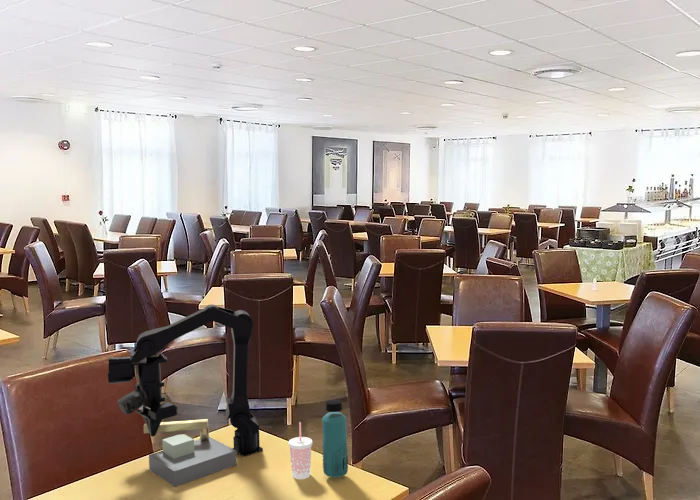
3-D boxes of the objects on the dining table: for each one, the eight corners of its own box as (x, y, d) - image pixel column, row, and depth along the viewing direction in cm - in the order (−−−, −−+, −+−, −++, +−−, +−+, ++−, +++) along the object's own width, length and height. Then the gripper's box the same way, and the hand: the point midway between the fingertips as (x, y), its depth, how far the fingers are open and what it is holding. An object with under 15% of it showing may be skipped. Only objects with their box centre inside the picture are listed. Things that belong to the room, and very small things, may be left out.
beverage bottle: (345, 484, 157) (344, 406, 155) (319, 482, 159) (318, 404, 157) (350, 473, 164) (349, 397, 162) (325, 471, 165) (324, 396, 163)
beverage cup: (318, 474, 163) (317, 421, 162) (300, 482, 159) (299, 428, 157) (301, 467, 167) (300, 416, 166) (284, 475, 163) (283, 422, 161)
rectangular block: (183, 445, 173) (182, 433, 172) (194, 452, 168) (193, 439, 168) (162, 452, 169) (162, 439, 168) (173, 458, 164) (173, 445, 164)
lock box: (209, 450, 180) (208, 436, 179) (236, 465, 169) (236, 450, 169) (149, 469, 167) (148, 454, 167) (174, 486, 157) (174, 471, 157)
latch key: (209, 437, 177) (208, 418, 177) (208, 441, 175) (208, 421, 175) (145, 442, 175) (144, 423, 174) (144, 446, 172) (143, 426, 172)
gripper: (105, 379, 171) (109, 435, 172) (136, 393, 157) (139, 454, 159) (145, 370, 178) (148, 424, 180) (177, 383, 165) (180, 441, 166)
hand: (153, 436), depth 171 cm, fingers closed
